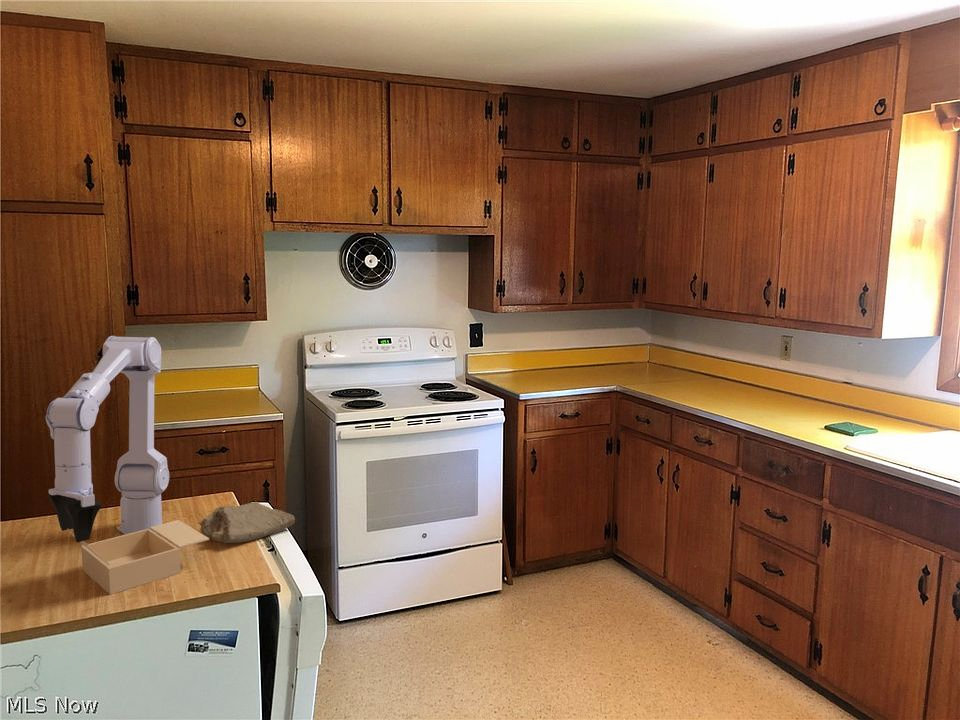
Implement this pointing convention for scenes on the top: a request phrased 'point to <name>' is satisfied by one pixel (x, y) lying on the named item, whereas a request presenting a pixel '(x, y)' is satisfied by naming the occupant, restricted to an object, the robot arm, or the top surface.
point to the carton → (139, 556)
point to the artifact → (244, 522)
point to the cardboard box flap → (89, 548)
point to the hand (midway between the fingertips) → (75, 534)
